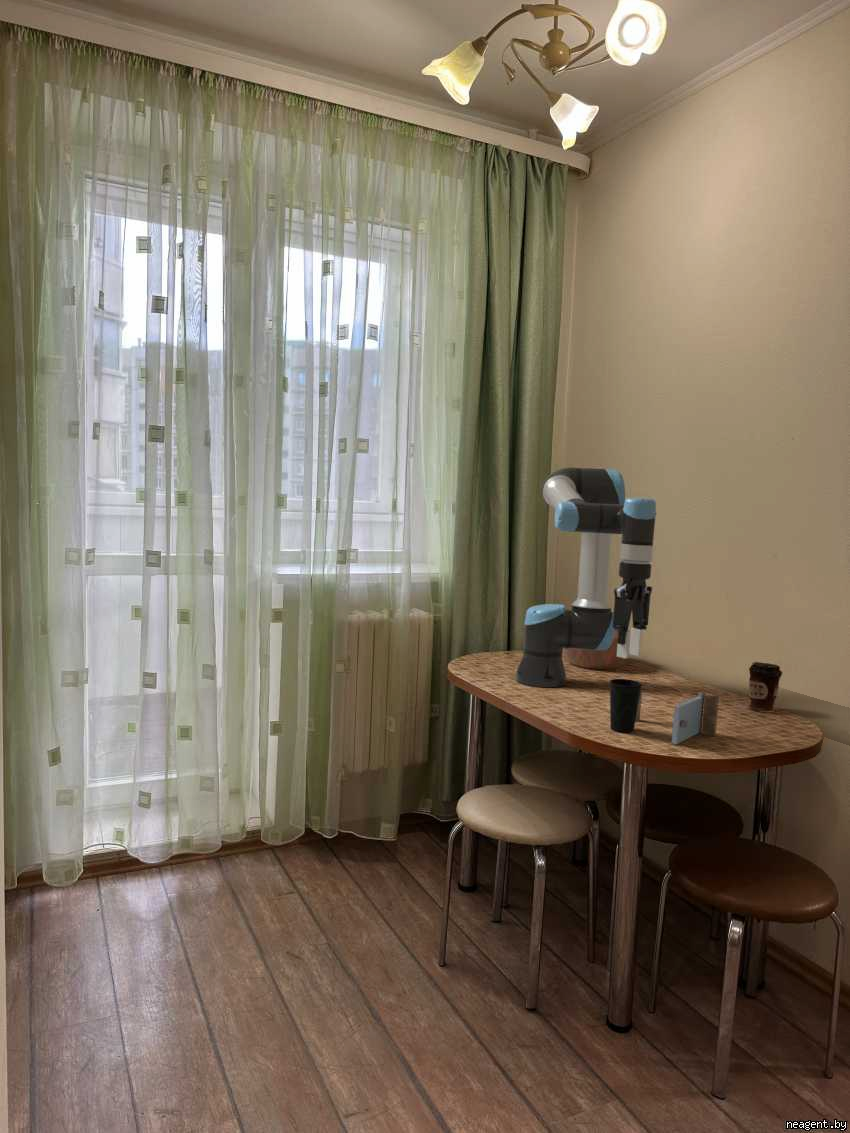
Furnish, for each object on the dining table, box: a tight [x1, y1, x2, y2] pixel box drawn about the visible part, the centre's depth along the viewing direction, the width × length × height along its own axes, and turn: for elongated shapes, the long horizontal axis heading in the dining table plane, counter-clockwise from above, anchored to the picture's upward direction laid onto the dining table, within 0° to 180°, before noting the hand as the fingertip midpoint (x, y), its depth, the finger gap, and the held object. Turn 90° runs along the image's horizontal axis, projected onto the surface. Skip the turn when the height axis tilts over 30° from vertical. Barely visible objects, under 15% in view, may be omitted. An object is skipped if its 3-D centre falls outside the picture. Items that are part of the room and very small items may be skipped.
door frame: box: [635, 680, 720, 737], centre depth 217 cm, size 22×2×10 cm, turn 59°
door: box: [671, 691, 706, 745], centre depth 208 cm, size 16×2×10 cm, turn 140°
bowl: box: [562, 630, 630, 671], centre depth 288 cm, size 25×25×12 cm
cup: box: [609, 678, 643, 734], centre depth 212 cm, size 8×8×12 cm
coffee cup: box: [748, 661, 783, 713], centre depth 239 cm, size 9×8×13 cm
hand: (628, 655), depth 211 cm, fingers open, 5 cm apart
